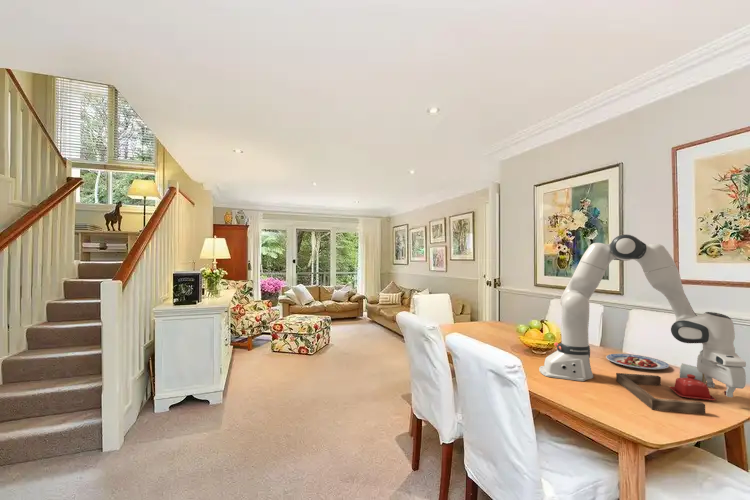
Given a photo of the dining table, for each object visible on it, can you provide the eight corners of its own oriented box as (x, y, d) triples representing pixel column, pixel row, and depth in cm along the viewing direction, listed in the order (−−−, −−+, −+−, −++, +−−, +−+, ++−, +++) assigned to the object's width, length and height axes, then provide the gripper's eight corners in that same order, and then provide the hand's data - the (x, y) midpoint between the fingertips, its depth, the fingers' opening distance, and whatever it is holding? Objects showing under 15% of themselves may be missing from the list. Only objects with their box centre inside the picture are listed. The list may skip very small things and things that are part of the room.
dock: (652, 409, 125) (652, 399, 125) (616, 380, 154) (616, 372, 154) (705, 414, 121) (705, 404, 121) (658, 383, 150) (658, 375, 150)
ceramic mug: (705, 387, 145) (704, 369, 145) (679, 382, 151) (679, 364, 152) (707, 382, 152) (707, 364, 152) (683, 377, 158) (682, 360, 159)
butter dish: (667, 388, 145) (667, 368, 145) (703, 392, 140) (702, 371, 141) (679, 399, 134) (679, 377, 134) (718, 404, 130) (717, 381, 130)
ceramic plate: (620, 355, 195) (620, 349, 195) (678, 367, 173) (678, 361, 173) (596, 362, 181) (596, 356, 182) (655, 376, 159) (655, 370, 159)
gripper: (691, 347, 143) (692, 381, 143) (728, 362, 124) (729, 401, 123) (709, 348, 142) (710, 382, 142) (749, 363, 122) (750, 403, 122)
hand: (719, 391), depth 132 cm, fingers open, 8 cm apart
